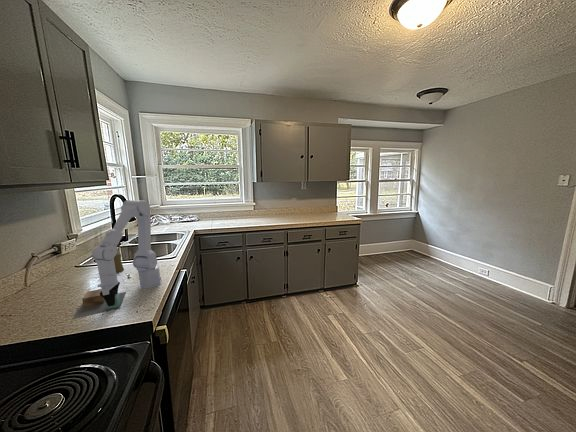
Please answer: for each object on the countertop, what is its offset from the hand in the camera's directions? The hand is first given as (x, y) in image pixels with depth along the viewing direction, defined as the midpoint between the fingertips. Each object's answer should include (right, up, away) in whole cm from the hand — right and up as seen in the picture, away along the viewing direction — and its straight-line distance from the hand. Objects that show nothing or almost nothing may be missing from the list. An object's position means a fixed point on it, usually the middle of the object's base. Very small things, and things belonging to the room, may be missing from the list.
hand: (112, 302), depth 104 cm
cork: (-24, +5, +37) cm, 44 cm away
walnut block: (-11, -1, +4) cm, 11 cm away
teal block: (0, -1, 0) cm, 1 cm away
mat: (-6, -2, +2) cm, 7 cm away
